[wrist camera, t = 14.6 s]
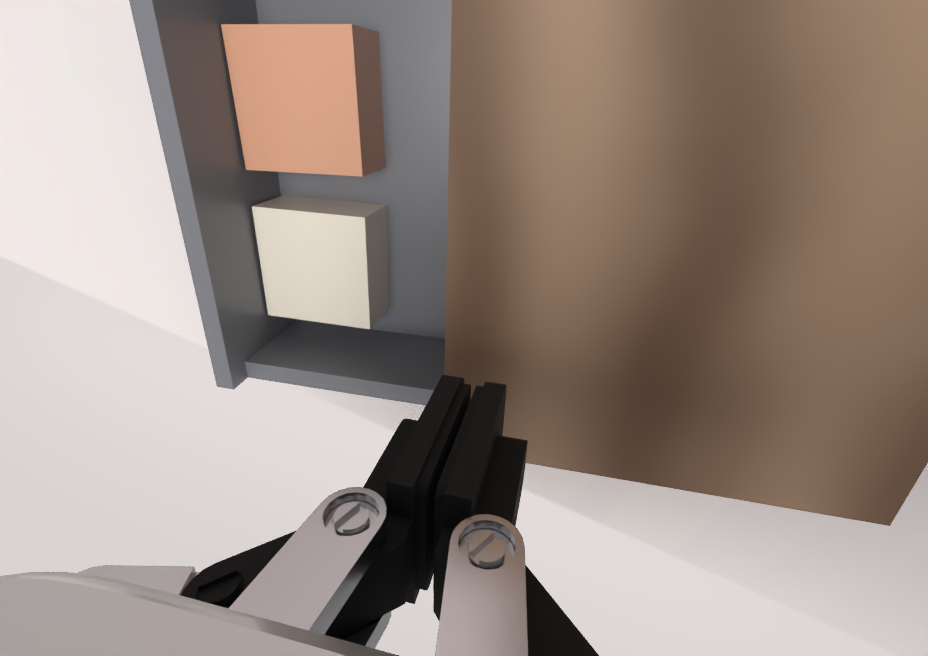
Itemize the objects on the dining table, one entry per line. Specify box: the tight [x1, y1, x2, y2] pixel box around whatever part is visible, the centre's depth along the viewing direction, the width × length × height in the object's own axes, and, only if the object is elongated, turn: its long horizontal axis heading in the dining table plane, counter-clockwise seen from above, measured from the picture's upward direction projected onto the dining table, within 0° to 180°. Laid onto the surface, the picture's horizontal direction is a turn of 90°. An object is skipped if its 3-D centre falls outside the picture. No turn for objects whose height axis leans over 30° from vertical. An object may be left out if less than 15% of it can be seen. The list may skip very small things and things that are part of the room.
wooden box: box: [444, 0, 928, 526], centre depth 16 cm, size 14×16×8 cm
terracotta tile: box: [221, 24, 385, 177], centre depth 19 cm, size 5×5×2 cm
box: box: [129, 0, 452, 405], centre depth 19 cm, size 10×17×6 cm, turn 177°
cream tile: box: [252, 195, 389, 329], centre depth 22 cm, size 5×5×2 cm
